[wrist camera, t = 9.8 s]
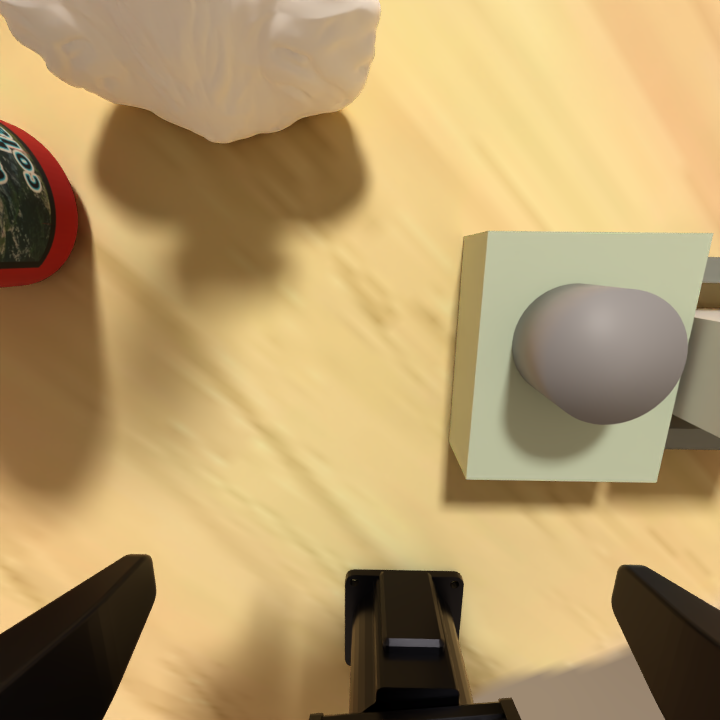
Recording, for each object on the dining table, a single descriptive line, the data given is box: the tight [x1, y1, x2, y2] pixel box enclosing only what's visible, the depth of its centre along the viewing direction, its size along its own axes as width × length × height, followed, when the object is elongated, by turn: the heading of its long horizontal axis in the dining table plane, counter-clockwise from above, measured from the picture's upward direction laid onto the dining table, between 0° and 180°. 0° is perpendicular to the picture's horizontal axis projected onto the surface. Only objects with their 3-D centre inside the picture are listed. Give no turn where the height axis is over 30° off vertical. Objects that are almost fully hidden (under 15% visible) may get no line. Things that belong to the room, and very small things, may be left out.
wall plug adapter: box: [449, 231, 720, 483], centre depth 15 cm, size 10×14×6 cm
